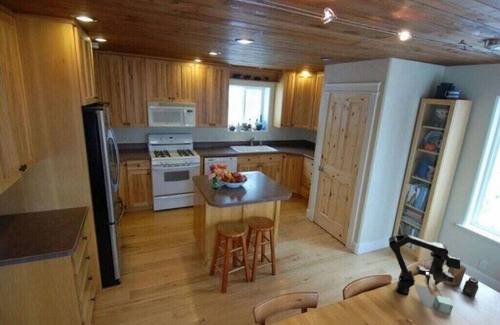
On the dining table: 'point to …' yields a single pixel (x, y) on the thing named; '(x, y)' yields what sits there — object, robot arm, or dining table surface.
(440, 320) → the dining table surface
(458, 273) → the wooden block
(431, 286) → the slat
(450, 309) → the end cap
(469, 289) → the supplement bottle
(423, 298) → the mat
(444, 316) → the dining table surface
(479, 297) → the dining table surface
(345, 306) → the dining table surface
